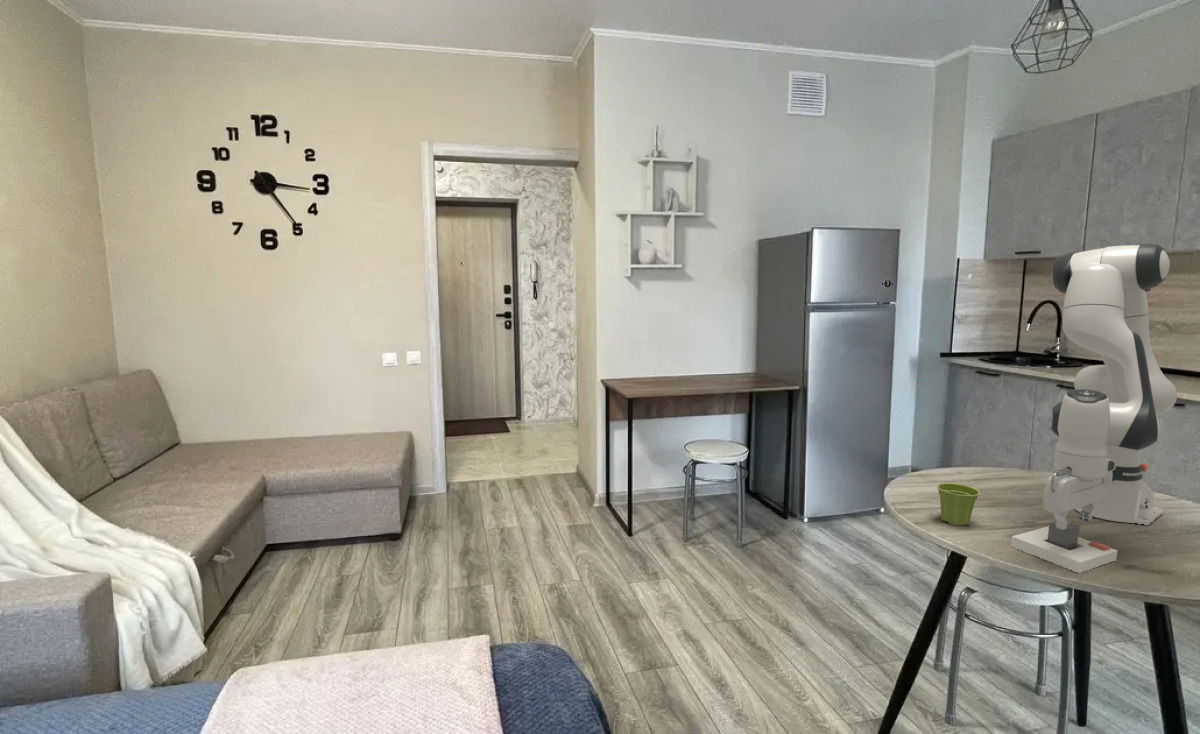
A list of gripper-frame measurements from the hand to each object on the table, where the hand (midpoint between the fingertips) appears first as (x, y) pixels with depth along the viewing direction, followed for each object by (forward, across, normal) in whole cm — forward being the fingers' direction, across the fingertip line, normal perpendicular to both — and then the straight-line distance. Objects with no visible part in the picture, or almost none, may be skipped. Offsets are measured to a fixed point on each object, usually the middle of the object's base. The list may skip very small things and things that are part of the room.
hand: (1073, 524), depth 133 cm
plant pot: (+7, -5, +23) cm, 25 cm away
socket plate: (+7, -1, +1) cm, 7 cm away
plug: (+7, -1, +2) cm, 8 cm away
